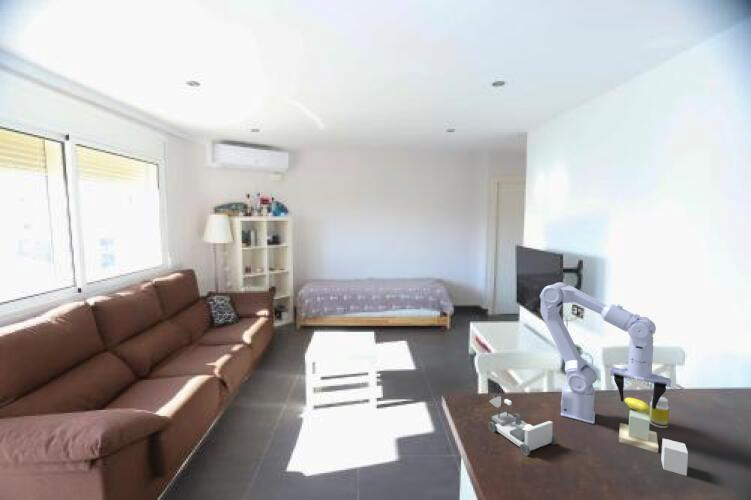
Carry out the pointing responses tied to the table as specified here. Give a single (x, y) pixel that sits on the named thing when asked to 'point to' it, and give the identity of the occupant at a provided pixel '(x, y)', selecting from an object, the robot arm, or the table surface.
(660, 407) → the supplement bottle
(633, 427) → the sage block
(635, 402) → the lemon
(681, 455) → the grey block
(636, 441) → the birch block
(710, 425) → the table surface
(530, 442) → the toy car
